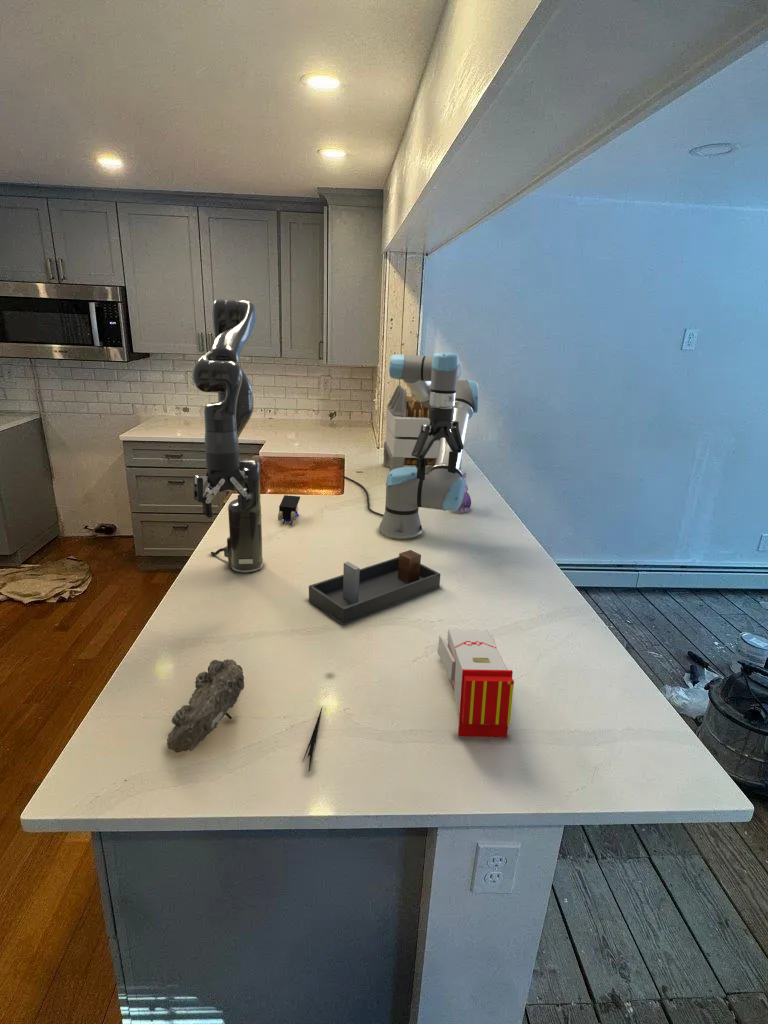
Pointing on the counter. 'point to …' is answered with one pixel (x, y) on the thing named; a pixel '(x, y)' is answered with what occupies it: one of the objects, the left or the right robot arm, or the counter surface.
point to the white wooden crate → (405, 431)
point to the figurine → (464, 500)
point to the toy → (478, 682)
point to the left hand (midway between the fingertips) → (225, 513)
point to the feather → (313, 740)
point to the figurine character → (288, 509)
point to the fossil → (206, 705)
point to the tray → (368, 589)
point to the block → (409, 566)
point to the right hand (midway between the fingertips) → (436, 475)
